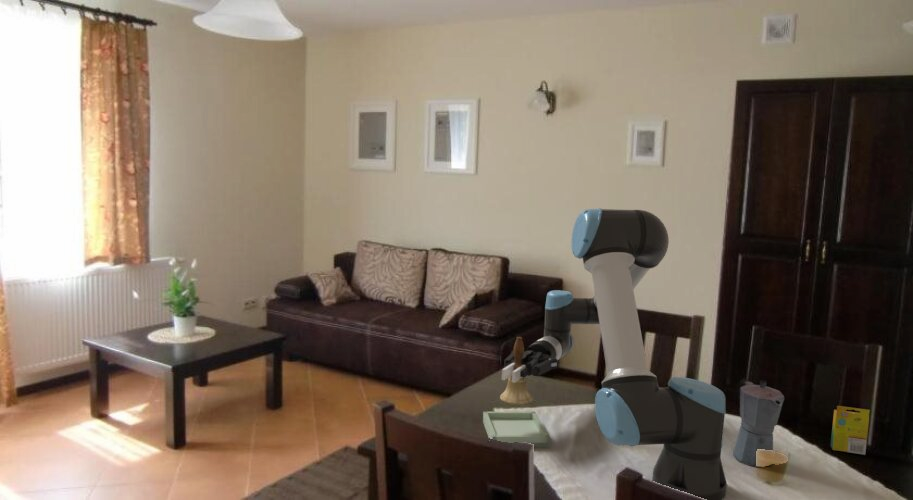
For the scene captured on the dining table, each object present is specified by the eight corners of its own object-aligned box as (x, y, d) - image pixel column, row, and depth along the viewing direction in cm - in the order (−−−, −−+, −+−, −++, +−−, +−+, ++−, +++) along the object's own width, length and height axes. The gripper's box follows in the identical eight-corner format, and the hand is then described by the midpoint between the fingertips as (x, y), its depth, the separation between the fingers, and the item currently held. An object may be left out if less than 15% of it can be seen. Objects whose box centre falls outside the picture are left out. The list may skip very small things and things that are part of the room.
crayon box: (862, 450, 162) (868, 406, 161) (865, 455, 159) (871, 410, 158) (829, 445, 165) (834, 401, 163) (831, 450, 162) (837, 405, 160)
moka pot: (757, 475, 146) (765, 390, 144) (713, 446, 161) (720, 369, 159) (791, 471, 149) (801, 388, 146) (745, 443, 164) (753, 367, 161)
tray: (548, 447, 157) (549, 436, 157) (492, 447, 155) (492, 436, 155) (534, 421, 173) (534, 411, 172) (482, 421, 171) (483, 411, 171)
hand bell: (494, 395, 165) (497, 334, 163) (522, 391, 169) (525, 332, 166) (510, 406, 158) (513, 343, 156) (539, 402, 161) (542, 340, 159)
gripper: (569, 371, 175) (536, 397, 154) (517, 361, 182) (480, 384, 161) (570, 344, 174) (538, 367, 153) (519, 335, 181) (481, 355, 160)
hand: (508, 376), depth 157 cm, fingers closed on hand bell, 2 cm apart
